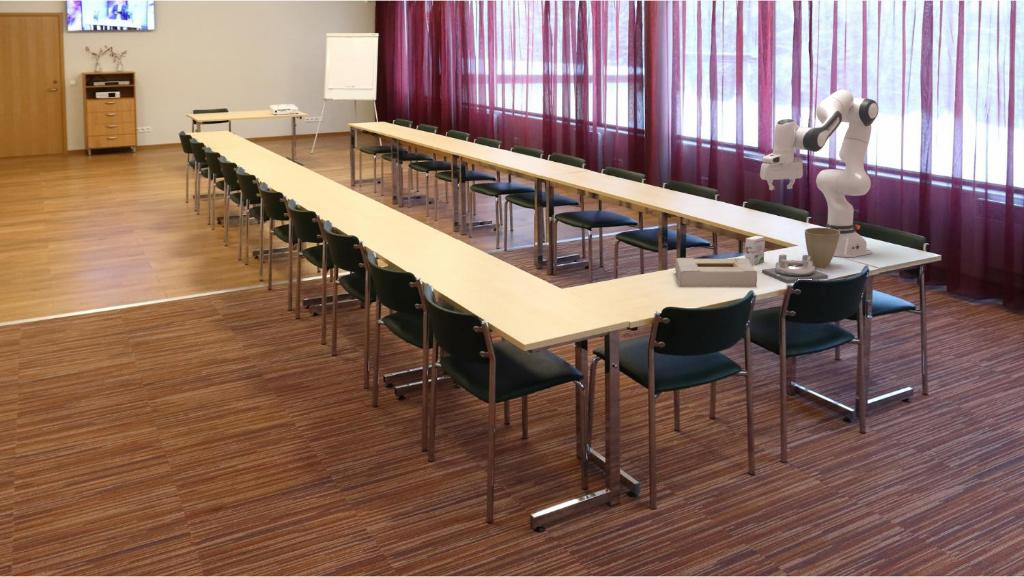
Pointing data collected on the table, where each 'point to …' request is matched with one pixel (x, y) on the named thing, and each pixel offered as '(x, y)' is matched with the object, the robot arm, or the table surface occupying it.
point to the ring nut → (795, 266)
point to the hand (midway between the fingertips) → (780, 189)
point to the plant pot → (821, 245)
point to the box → (715, 272)
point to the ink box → (755, 249)
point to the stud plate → (792, 279)
